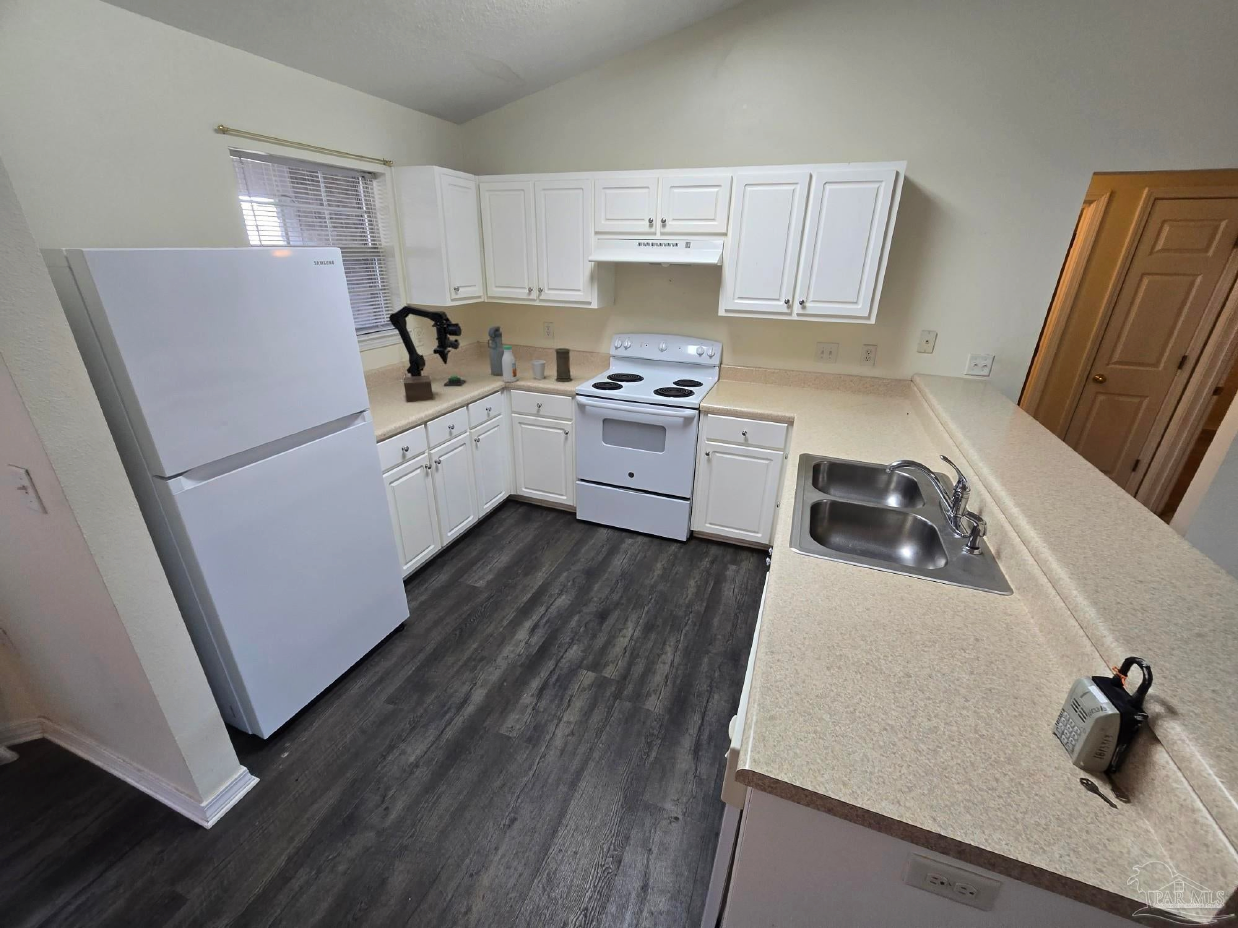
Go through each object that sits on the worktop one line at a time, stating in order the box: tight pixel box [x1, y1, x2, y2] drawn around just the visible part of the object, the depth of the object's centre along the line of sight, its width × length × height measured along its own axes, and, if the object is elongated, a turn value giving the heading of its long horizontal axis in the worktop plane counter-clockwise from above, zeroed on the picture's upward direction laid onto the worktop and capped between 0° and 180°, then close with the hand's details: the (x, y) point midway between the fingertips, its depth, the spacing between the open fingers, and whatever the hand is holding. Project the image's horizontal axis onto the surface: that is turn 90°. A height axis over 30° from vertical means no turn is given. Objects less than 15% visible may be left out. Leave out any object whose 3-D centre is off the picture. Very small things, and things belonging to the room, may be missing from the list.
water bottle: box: [487, 325, 504, 376], centre depth 307 cm, size 10×10×28 cm
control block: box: [443, 376, 466, 387], centre depth 289 cm, size 11×9×3 cm
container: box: [554, 347, 572, 383], centre depth 295 cm, size 9×9×18 cm
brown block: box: [403, 374, 434, 403], centre depth 261 cm, size 14×13×10 cm
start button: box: [450, 375, 459, 379], centre depth 288 cm, size 4×4×2 cm
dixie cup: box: [530, 359, 547, 380], centre depth 301 cm, size 8×8×10 cm
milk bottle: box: [502, 345, 518, 383], centre depth 293 cm, size 8×8×20 cm
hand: (445, 364), depth 284 cm, fingers closed
